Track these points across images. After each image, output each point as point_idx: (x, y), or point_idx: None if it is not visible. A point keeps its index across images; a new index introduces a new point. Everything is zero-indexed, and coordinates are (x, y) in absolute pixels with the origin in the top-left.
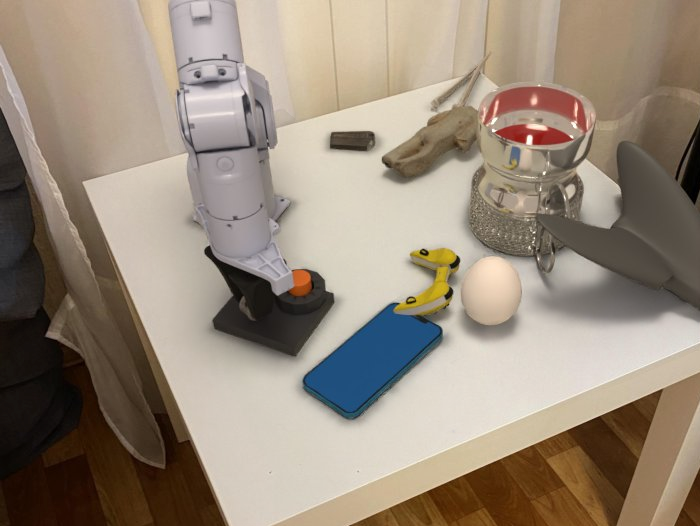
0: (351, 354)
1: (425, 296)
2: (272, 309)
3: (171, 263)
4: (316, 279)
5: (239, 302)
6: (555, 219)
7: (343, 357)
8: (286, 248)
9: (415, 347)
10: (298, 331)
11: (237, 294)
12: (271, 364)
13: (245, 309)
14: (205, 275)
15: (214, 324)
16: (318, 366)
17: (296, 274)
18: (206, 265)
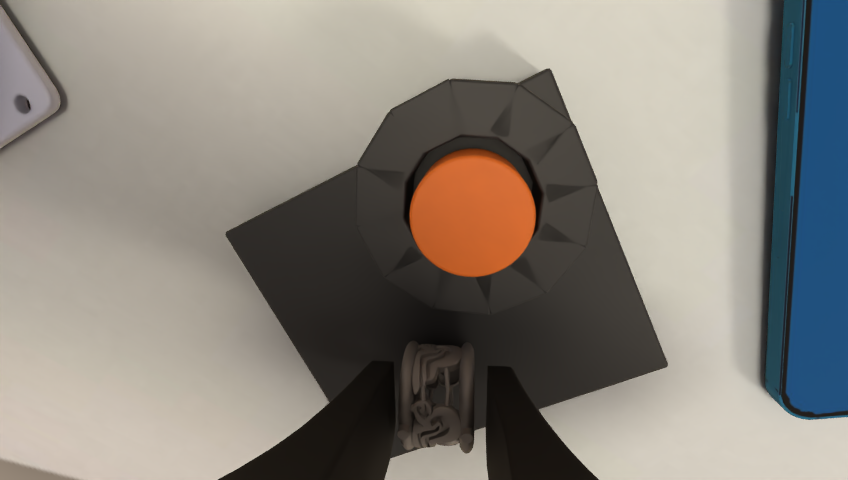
0: None
1: None
2: (511, 369)
3: (57, 374)
4: (489, 116)
5: (394, 430)
6: None
7: (842, 254)
8: (155, 35)
9: None
10: (617, 309)
11: (386, 464)
12: (616, 405)
13: (448, 444)
14: (153, 334)
15: None
16: (789, 342)
17: (444, 212)
18: (111, 308)
